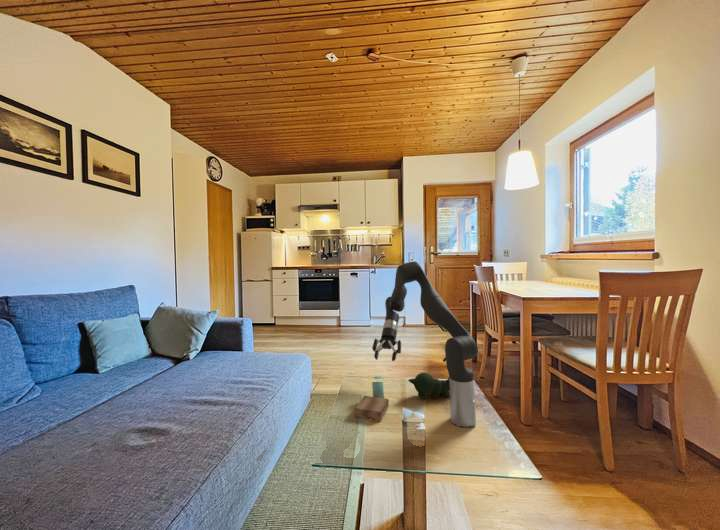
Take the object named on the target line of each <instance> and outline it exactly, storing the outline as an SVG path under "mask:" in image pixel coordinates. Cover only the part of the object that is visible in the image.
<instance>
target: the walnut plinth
mask: <svg viewBox="0 0 720 530" xmlns="http://www.w3.org/2000/svg"><path fill="white" fill-rule="evenodd" d="M389 400H390V399H389V398H385V397H384V398H377V397H373V396H370V395H369V396H368V395H364V396H363V397H362V398H361V400H359V403H358V404H357V405H356V406H355V408H354V412H355V413H354V415H355V418H357V419H363V420H368V419H372V420H371V421H374V420H377V421H376V422H380V421H381V420H382V421H383V419H384V417H385V416H386V414H387V412H388V410H389V409H388V407H389V406H390V404H389V403H390V402H389ZM389 408H390V407H389ZM387 409H388V410H387ZM386 411H387V412H386ZM385 413H386V414H385ZM384 415H385V416H384ZM383 416H384V417H383ZM382 418H383V419H382ZM382 421H381V422H382Z"/></svg>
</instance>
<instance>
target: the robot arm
mask: <svg viewBox="0 0 720 530" xmlns="http://www.w3.org/2000/svg"><path fill="white" fill-rule="evenodd" d="M394 279H395V280H394V288H393V290H392V293H391V296H388V297H387V298H386V299H385V303H384V305H385V318H384V323H383V326H382V332H381V335H380V336H381V337H380V339H377V338H374V340H373V344H372V347H371V349H372V351H373V352H374V355H373V356H374V359H375V360H378V358H379V354H380V353H379V352H381V351H382V350H392V356H391V361H392V362H394V361H396V359H397V354H401V353H402V345H403V344H402V341H401V339H399V340H397V335H398V328H399V327H398V326H399V321H400V314H399V313H400V312H403V310H404V309H405V299H406V296H407V294H408V289H407V287H406V286H405V284H409V283H412V282H417V283H418V285H419V286H420V301H419V303H420V306H421V308H422V310H423V311H424V314H425V315H426V316H427V317H428V318H429V320H431V321H432V322H434V323H435V324H436V325H438V326H439V327H441V328H443V329H444V330H446V332H448V333H449V334H450V336H451V337H449V338H447V340H446V342H445V345H444V351H445V352H444V353H445V357H446V361H445V363H446V370H447V372H448V378H449V390H450V391H449V409H450V412H449V413H450V414H449V415H450V416H449V417H450V421H451V423H452V422H453V423H452V424H454V423H455V424H457V425H459V426H458V427H460V426H463V427H462V428H469V427H468V426H471V427H474V426H475V427H476V422H477V421H476V420H477V416H476V395H475V394H476V393H475V373H474V370H472V369H471V368H470V367H466V366H465V361H468V360H471V359H474V358H476V357H477V356H478V355H479V353H478V352H479V348H478V344H477V342H476V341H475V339H474V338H473V336H472V335H471V334H470V333H469V331H468V330H466V328H465V327H464V326H463V324H461V323H460V322H459V320H458V319H457V317H456V316H455V315H454V314H453V312H452V311H451V310H450V309H449V307H448V306H447V304H446V303H445V301H444V300H443V298H442V297H441V295H440V294H439V293H438V292H437V290H436V289H435V287H434V285H432V282H431V281H430V279H429V278H428V277H427V275H426V272H425V271H424V269H423V268H422V266H421V265H420V264H419V262H417V261H415V260H414V261H410V262H405V263H402V264H399V265H398V266H397V268H396V272H395V278H394ZM398 312H399V313H398ZM379 343H380V344H379ZM395 345H397V348H396V349H395V347H394V346H395ZM455 424H454V425H455ZM457 425H456V426H457Z"/></svg>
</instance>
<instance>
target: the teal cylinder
mask: <svg viewBox="0 0 720 530" xmlns="http://www.w3.org/2000/svg"><path fill="white" fill-rule="evenodd" d="M372 378H375V379H380V380H383V382H372V381H371V383H372V384H371V385H372V397H377V398H385V395H384V394H385V393H384V389H385V388H384V377H382V376H373V377H372Z"/></svg>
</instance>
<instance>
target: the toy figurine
mask: <svg viewBox="0 0 720 530" xmlns="http://www.w3.org/2000/svg"><path fill="white" fill-rule="evenodd" d="M442 362H444V363H446V356H445V357H444V358H443V360H442ZM407 381H408V382H409V383H411V384H413V386H414V389H415V390H416V392H417V394H418V397H419V398H420V399H425V398H426V396H427V395H430V394H432V395H433V397H434V398H437V399H438V398H440V395H442V396H443V397H444V398H447V397H449V393H450V390H449V377H448V378H447V379H446V380H445V379H442V380H439V379H437V378H434V376H432V375H431V374H430V373H427V372H420V373H418V374H416V376H415V378H410V379H408V380H407Z"/></svg>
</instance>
